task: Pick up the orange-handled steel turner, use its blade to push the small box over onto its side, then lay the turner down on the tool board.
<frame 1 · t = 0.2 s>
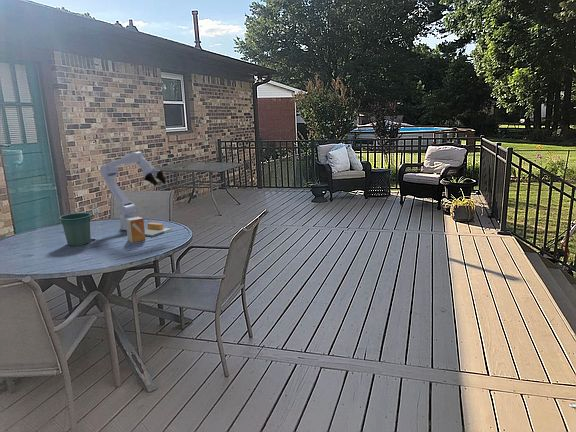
hand: (160, 183, 265), 30 cm above the table, tool tilted 45°, fingers open, 7 cm apart
tool board: (145, 233, 270), on the table
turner: (159, 230, 278), on the table
flower pot: (79, 243, 252), on the table
small box: (136, 240, 255), on the table
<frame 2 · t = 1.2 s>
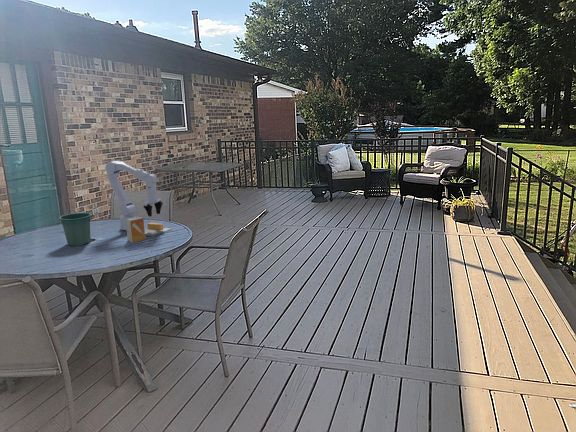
hand: (154, 215, 277), 9 cm above the table, tool pointing down, fingers open, 7 cm apart
nothing on the table moved.
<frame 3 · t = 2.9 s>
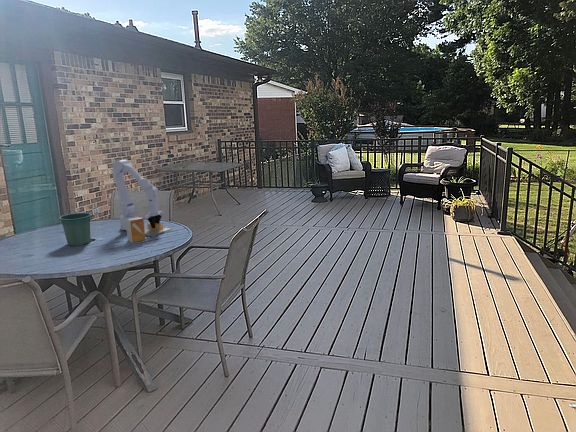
hand: (155, 227, 279), 1 cm above the table, tool pointing down, fingers closed on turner, 3 cm apart
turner: (159, 230, 278), on the table, touching gripper
everything else where it was.
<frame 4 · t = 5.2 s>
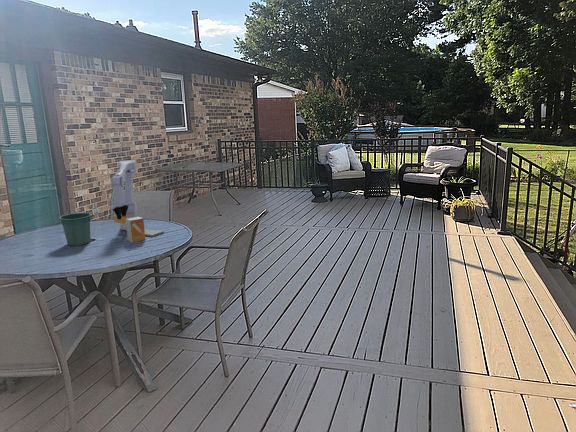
hand: (121, 218, 265), 10 cm above the table, tool pointing down, fingers closed on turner, 3 cm apart
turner: (126, 223, 264), point 8 cm above the table, touching gripper
everything else where it was.
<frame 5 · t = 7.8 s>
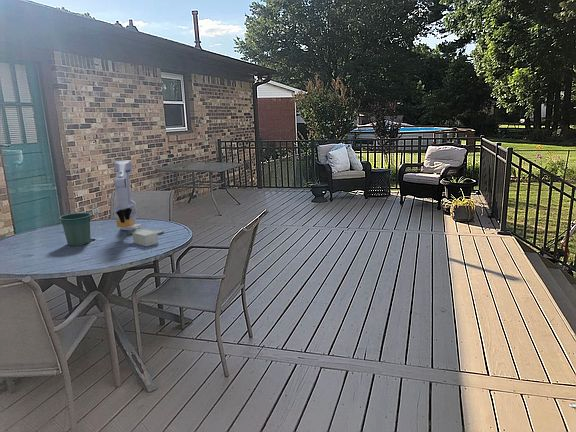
hand: (125, 221, 256), 10 cm above the table, tool pointing down, fingers closed on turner, 3 cm apart
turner: (129, 226, 255), point 8 cm above the table, touching gripper
small box: (138, 236, 252), point 3 cm above the table
everything else where it was.
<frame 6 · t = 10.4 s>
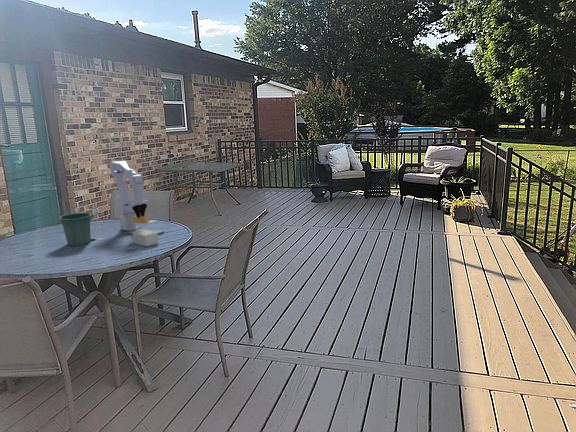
hand: (140, 216, 268), 10 cm above the table, tool pointing down, fingers closed on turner, 3 cm apart
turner: (144, 222, 268), point 7 cm above the table, touching gripper
everything else where it was.
when the fingers open (4 cm above the table, at t = 12.3 s): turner stays where it is, resting on tool board.
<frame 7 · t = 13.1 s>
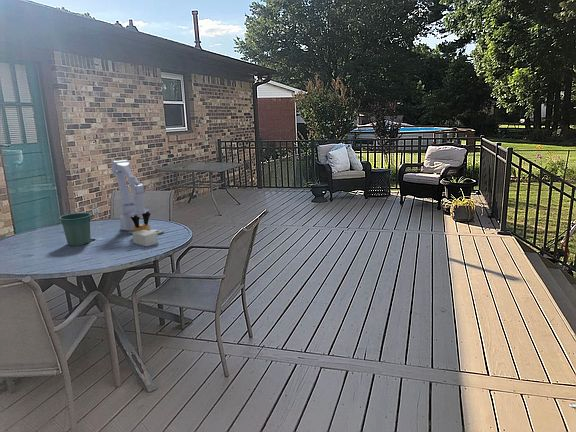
hand: (141, 226, 270), 5 cm above the table, tool pointing down, fingers open, 7 cm apart
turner: (145, 231, 269), point 1 cm above the table, touching tool board
everything else where it was.
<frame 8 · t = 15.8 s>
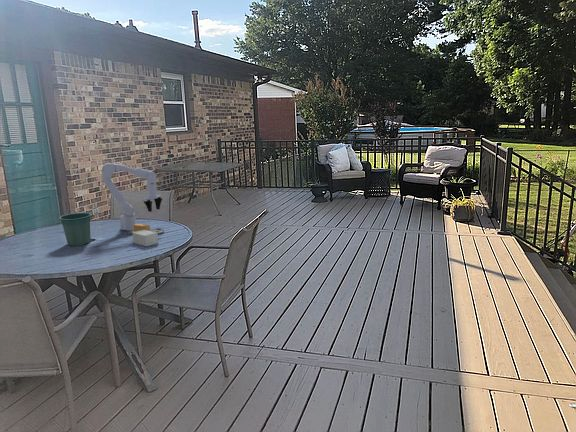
hand: (154, 210, 287), 10 cm above the table, tool pointing down, fingers open, 7 cm apart
nothing on the table moved.
at the end: small box tilted 89°; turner inside the target area on the tool board (0.1 cm from its centre), point 1.2 cm above the tool board's base; the gripper is holding nothing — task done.
